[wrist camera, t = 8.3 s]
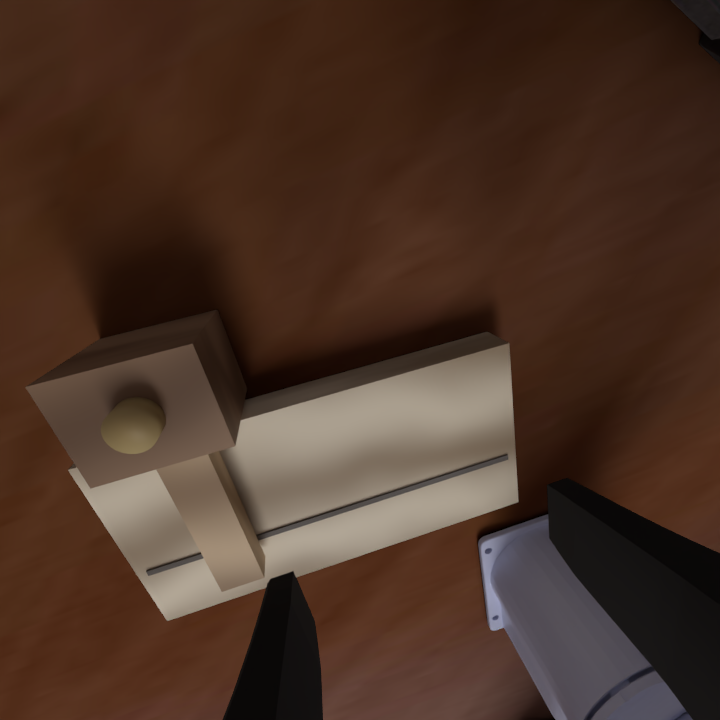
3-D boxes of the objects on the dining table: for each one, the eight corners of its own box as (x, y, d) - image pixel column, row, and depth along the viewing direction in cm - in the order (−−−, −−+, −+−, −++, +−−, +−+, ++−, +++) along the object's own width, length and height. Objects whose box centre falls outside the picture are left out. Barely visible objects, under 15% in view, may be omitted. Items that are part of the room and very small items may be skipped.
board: (499, 479, 23) (519, 503, 21) (177, 585, 21) (166, 622, 19) (487, 331, 19) (510, 343, 17) (91, 443, 17) (66, 471, 15)
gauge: (293, 510, 21) (297, 610, 15) (204, 538, 20) (177, 652, 15) (217, 309, 16) (186, 351, 11) (100, 338, 16) (7, 398, 10)
